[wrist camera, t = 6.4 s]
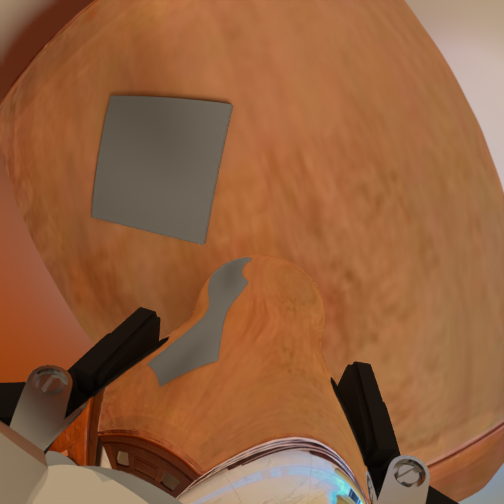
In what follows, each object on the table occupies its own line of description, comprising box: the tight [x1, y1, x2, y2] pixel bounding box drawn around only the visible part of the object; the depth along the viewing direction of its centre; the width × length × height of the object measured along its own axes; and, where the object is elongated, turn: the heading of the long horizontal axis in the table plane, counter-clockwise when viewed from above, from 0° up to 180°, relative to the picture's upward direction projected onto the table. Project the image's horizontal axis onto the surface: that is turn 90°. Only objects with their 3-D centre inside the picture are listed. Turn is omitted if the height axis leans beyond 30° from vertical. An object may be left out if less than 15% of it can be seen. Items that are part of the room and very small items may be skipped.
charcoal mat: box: [91, 96, 233, 245], centre depth 30 cm, size 15×15×1 cm
